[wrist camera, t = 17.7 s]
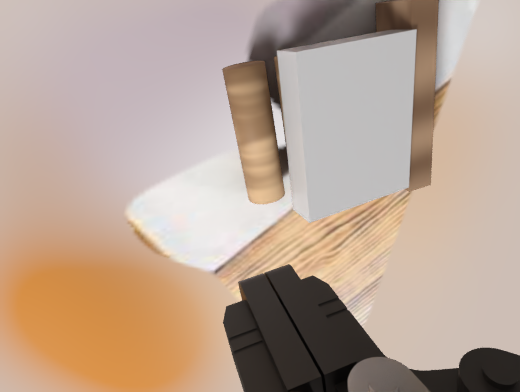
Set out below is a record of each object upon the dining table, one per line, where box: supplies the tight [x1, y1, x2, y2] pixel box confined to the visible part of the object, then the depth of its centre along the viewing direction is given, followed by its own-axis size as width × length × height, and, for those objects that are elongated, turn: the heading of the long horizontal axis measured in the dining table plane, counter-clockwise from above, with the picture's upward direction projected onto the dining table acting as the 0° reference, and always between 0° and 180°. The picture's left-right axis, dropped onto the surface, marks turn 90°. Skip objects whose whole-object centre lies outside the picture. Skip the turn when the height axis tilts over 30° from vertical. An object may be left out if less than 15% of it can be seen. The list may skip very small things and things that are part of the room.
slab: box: [277, 29, 417, 223], centre depth 33 cm, size 14×11×3 cm
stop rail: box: [376, 0, 439, 192], centre depth 36 cm, size 17×2×5 cm, turn 11°
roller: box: [223, 61, 285, 204], centre depth 34 cm, size 12×4×4 cm, turn 11°
